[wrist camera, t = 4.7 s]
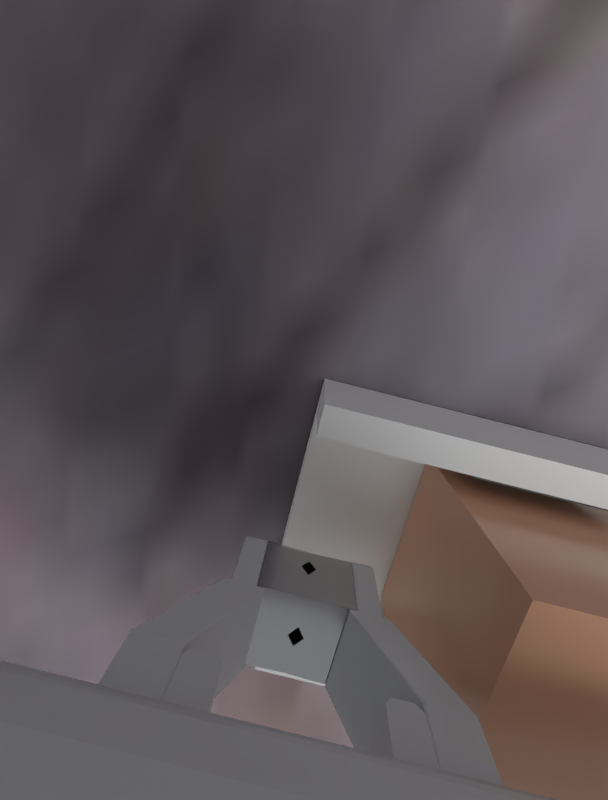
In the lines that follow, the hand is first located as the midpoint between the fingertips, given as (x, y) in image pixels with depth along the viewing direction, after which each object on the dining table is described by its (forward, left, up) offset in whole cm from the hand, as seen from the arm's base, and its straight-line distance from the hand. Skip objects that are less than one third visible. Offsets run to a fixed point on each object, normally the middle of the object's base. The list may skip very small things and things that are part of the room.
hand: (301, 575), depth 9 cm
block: (0, +6, -3) cm, 6 cm away
